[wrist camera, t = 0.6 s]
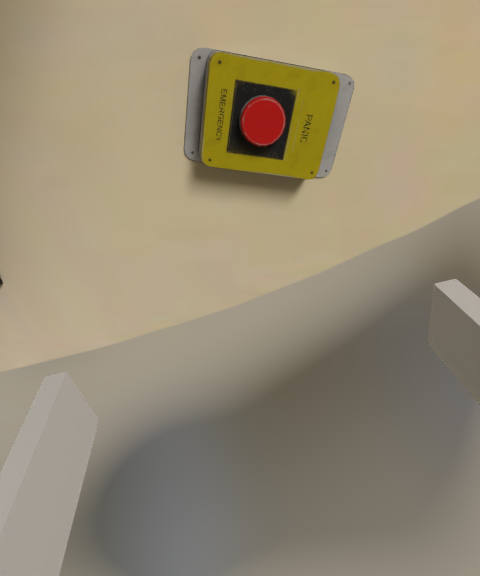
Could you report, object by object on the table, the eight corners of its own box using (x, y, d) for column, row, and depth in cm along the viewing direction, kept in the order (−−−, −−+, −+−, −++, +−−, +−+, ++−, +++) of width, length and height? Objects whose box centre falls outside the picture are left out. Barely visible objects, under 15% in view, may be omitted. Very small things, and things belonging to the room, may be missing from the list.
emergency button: (191, 42, 27) (375, 77, 30) (191, 45, 31) (354, 76, 33) (182, 168, 32) (341, 189, 34) (183, 158, 35) (327, 177, 38)
